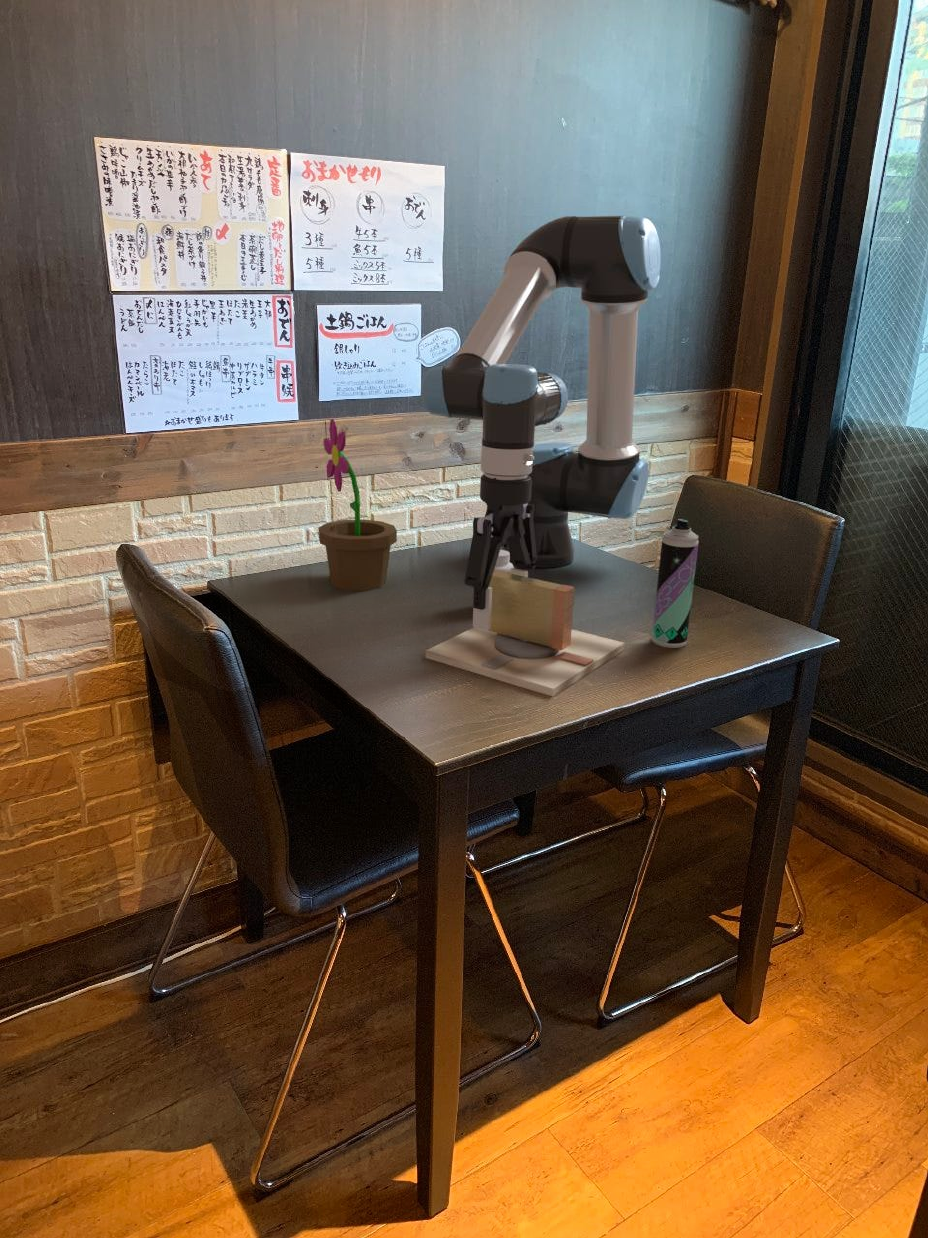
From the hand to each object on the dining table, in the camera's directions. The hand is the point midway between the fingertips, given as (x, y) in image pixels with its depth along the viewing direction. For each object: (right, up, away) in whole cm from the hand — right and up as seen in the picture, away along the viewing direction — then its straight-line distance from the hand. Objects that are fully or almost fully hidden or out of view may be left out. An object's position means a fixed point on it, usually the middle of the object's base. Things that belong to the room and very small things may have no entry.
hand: (500, 618), depth 143 cm
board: (+4, -5, -1) cm, 7 cm away
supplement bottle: (0, +1, +18) cm, 18 cm away
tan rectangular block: (+4, -3, -2) cm, 5 cm away
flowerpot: (-25, +6, +30) cm, 40 cm away
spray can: (+27, -4, +6) cm, 28 cm away
